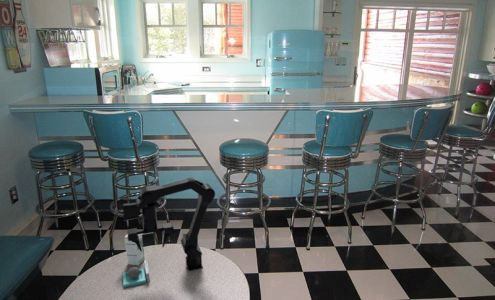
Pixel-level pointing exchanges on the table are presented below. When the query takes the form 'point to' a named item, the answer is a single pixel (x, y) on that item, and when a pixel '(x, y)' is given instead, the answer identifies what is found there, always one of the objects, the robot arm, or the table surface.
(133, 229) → the robot arm
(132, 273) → the ball
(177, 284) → the table surface
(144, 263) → the gray flat board
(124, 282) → the coaster
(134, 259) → the syrup box
